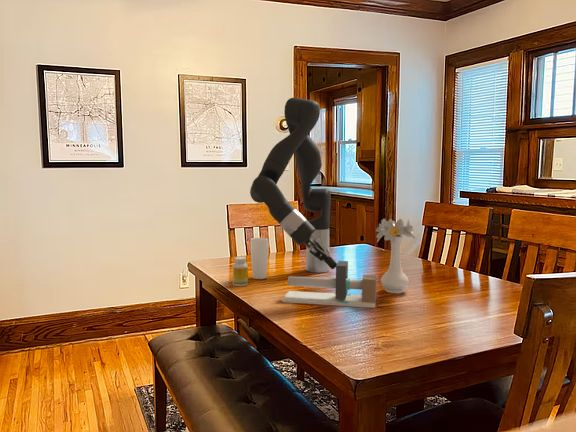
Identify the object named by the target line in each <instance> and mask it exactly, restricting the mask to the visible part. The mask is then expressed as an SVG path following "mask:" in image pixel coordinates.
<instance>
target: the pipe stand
mask: <svg viewBox="0 0 576 432" xmlns="http://www.w3.org/2000/svg"><path fill="white" fill-rule="evenodd" d="M287 285H288V286H289V287H306V288H309V287H310V288H322V289H324V288H325V289H336V278H333V277H332V278H329V277H314V276H313V277H312V276H311V277H309V276H290V275H289V276H288V278H287ZM288 286H287V287H288ZM346 290H347V291H350V290H359V291H361V294H353V293H352V294H351V293H347V296H346V299H336V293H333V292H331V293H330V292H313V291H297V290H289V291H288V292H287V293H286V294H285V295H284V297H283V298H282V299H281V302H282V303H289V304H291V303H292V304H309V305H322V306H323V305H325V306H342V307H352V308H353V307H356V308H372V309H373V308H374V309H375V308H376V301H377V299H376V298H377V275H373V274H371V275H370V274H363V276H362V279H351V278H346Z"/></svg>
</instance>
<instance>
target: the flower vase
mask: <svg viewBox="0 0 576 432" xmlns="http://www.w3.org/2000/svg"><path fill="white" fill-rule="evenodd" d="M410 224H411V223H410V220H409V219H407V224H404V220H403V219H401V218H399V219H398V220H397V221H395V220H393V219H392V218H390V219H388V220H387V219H385V218H383V219H381V220H380V223H379V224H378V227H376V228H375V232H378V233H377V234H376V236H375V237H376V239H377V240H376V243H379V241H380V240H381V238H382V237H384V239H383V240H384V241H390V247H391V248H390V263H389V266H388V269H387V271H386V272H385V273H384V274H383V275H382V276H381V279H380V283H381V285H382V287H383V288H385V292H387V293H389V294H403V293H404V292H405V289H406V288H408V286H409V284H410V283H409V282H410V280H409V277H408V276H407V275H406V274H405V273H404V271H403V268H402V266H401V245H402V242H403V241H402V240H403V239H404V236H405V237H407V238H410V237H411V238H413V240H415V241H417V239H416V237H415V236H414V233H415V231H414V229H413V226H412V225H410Z"/></svg>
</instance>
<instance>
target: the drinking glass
mask: <svg viewBox="0 0 576 432" xmlns="http://www.w3.org/2000/svg"><path fill="white" fill-rule="evenodd" d="M249 243H250V259H251V274H252V276H251V277H252V278H253V279H254V280H265V279H266V278H267V273H268V272H267V271H268V260H269V246H270V245H269V238H267V237H251V238H250V242H249Z"/></svg>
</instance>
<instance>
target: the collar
mask: <svg viewBox="0 0 576 432" xmlns="http://www.w3.org/2000/svg"><path fill="white" fill-rule="evenodd" d="M336 263H337V265H336V267H335V279H336V288H335V294H336V299H346V296H347V294H348V290H346V278H348V277H349V276H348V275H349V274H348V273H349V271H348V270H349V261H348V260H338V261H337V262H336ZM348 279H349V278H348Z"/></svg>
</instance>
